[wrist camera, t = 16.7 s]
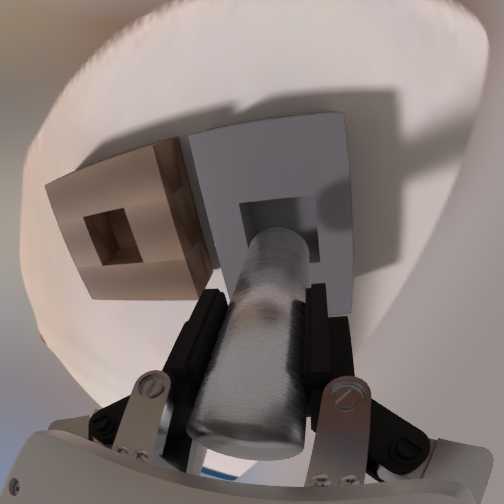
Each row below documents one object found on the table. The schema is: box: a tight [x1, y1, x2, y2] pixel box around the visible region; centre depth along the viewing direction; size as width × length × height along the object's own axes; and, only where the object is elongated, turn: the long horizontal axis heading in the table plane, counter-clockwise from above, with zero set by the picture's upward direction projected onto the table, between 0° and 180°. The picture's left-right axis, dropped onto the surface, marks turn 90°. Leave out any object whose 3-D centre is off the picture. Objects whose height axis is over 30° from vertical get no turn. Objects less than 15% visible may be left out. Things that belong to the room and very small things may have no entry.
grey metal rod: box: [186, 227, 310, 461], centre depth 10 cm, size 3×3×10 cm
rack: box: [188, 112, 353, 315], centre depth 19 cm, size 14×9×4 cm, turn 11°
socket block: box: [45, 137, 213, 300], centre depth 22 cm, size 12×12×4 cm
